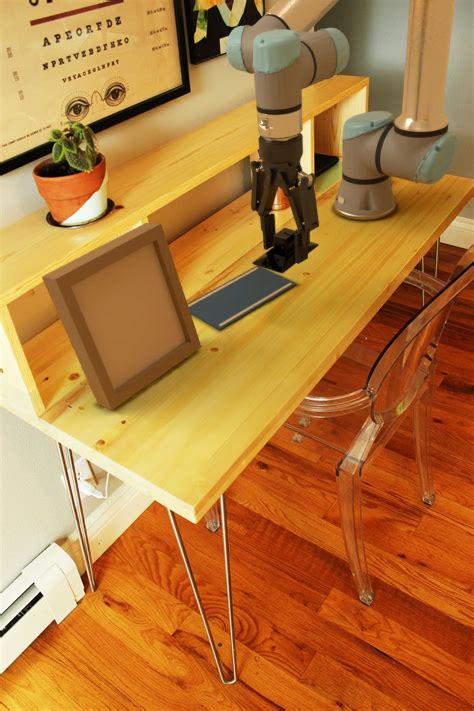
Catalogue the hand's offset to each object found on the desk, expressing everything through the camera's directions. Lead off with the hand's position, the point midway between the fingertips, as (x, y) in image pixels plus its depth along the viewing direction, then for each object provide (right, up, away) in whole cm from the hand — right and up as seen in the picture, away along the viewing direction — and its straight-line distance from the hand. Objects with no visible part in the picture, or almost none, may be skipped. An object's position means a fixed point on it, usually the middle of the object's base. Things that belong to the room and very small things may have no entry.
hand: (285, 253), depth 120 cm
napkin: (-9, -7, +13) cm, 17 cm away
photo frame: (-29, -22, -2) cm, 36 cm away
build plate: (0, 0, 0) cm, 0 cm away
